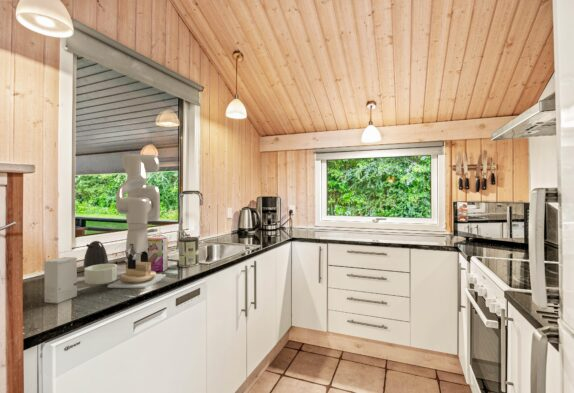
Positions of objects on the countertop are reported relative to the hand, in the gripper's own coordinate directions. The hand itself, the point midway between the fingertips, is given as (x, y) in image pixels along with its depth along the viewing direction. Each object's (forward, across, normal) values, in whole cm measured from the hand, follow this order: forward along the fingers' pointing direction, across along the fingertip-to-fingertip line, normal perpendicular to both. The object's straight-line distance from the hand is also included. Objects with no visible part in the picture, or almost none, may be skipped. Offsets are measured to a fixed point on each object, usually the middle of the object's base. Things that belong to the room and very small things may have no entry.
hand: (138, 265), depth 134 cm
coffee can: (+7, -31, +10) cm, 33 cm away
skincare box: (+7, +23, -16) cm, 29 cm away
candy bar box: (+7, -18, -2) cm, 19 cm away
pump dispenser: (+7, -13, -29) cm, 32 cm away
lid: (+6, 0, 0) cm, 6 cm away
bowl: (+7, 0, -17) cm, 18 cm away
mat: (+7, 0, 0) cm, 7 cm away
